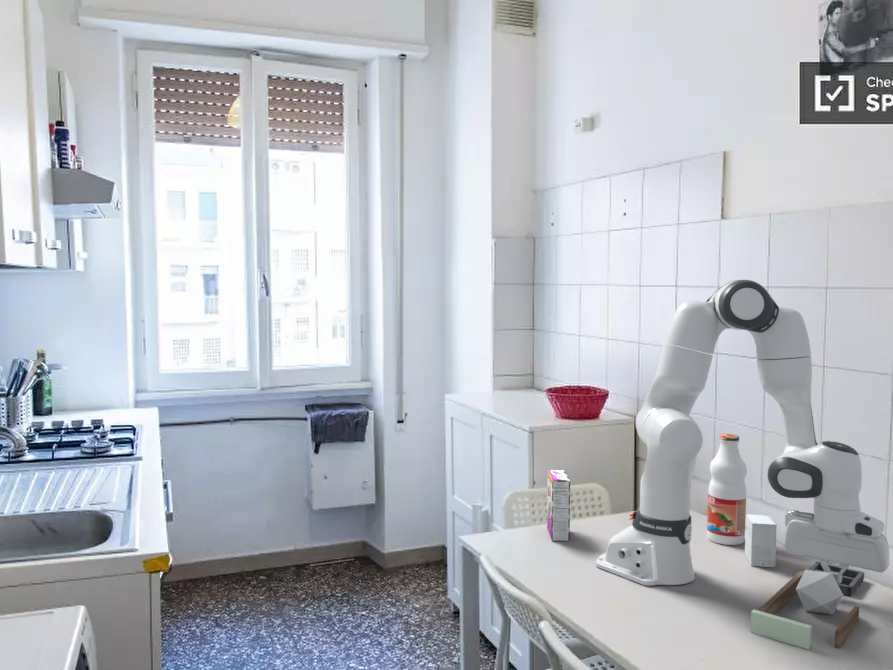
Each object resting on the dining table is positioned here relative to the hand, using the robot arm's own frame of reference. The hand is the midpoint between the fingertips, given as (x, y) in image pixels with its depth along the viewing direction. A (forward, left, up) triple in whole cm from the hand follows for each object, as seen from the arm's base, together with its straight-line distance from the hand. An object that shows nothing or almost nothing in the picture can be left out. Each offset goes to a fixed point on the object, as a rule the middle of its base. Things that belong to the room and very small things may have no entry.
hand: (833, 581), depth 161 cm
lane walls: (0, -13, -3) cm, 14 cm away
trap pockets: (-2, +8, -3) cm, 9 cm away
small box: (-19, +11, -4) cm, 22 cm away
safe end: (-2, -29, -3) cm, 29 cm away
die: (-1, -10, -4) cm, 10 cm away
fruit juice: (-31, +21, -4) cm, 38 cm away
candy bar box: (-66, -6, -4) cm, 66 cm away
